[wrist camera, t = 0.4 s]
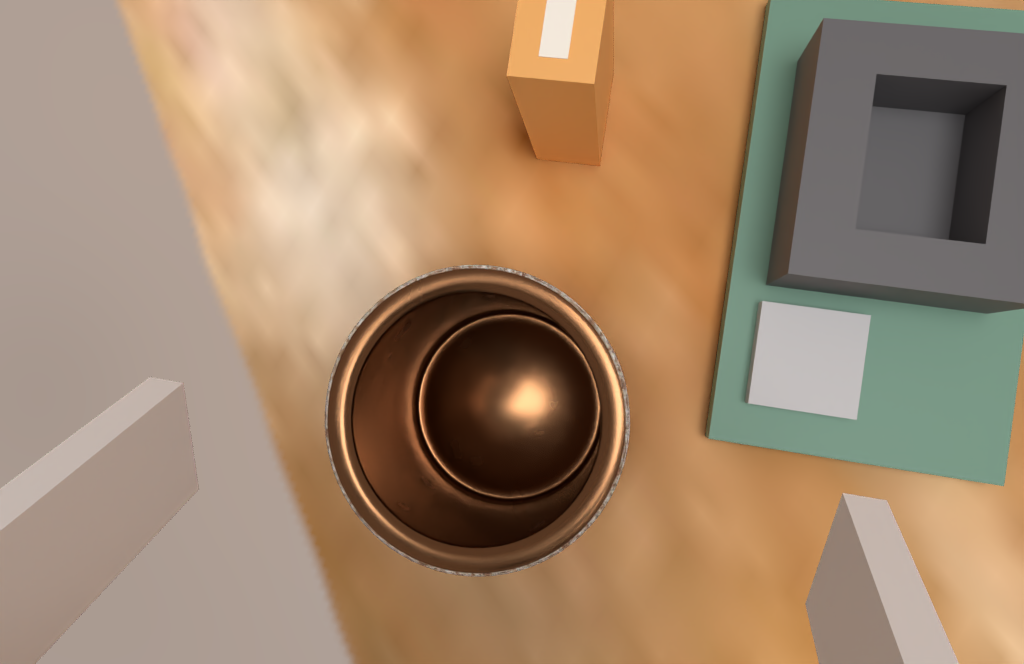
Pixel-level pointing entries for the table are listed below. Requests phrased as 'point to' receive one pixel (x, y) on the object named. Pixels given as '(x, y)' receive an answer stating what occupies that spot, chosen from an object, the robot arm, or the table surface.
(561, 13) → the plug
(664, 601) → the table surface
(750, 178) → the board
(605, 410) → the planter
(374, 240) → the table surface
